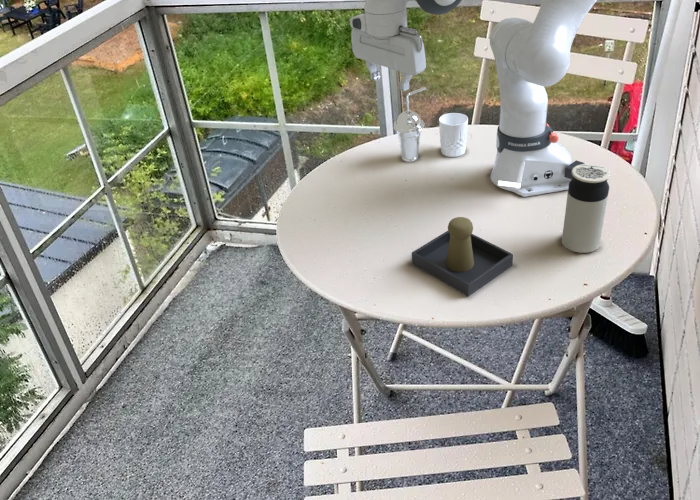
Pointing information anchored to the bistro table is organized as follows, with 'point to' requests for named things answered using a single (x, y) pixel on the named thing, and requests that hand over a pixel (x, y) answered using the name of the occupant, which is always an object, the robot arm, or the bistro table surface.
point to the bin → (485, 269)
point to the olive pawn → (460, 245)
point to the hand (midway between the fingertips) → (389, 84)
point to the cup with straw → (409, 131)
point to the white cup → (453, 134)
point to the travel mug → (585, 208)
